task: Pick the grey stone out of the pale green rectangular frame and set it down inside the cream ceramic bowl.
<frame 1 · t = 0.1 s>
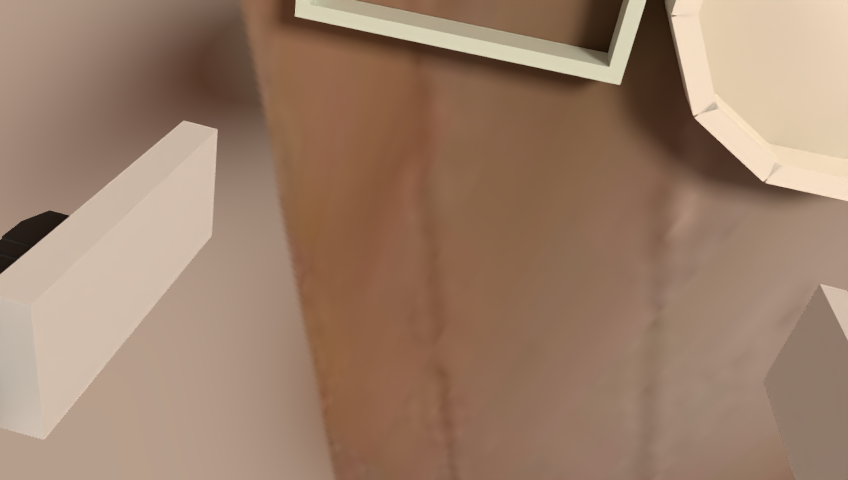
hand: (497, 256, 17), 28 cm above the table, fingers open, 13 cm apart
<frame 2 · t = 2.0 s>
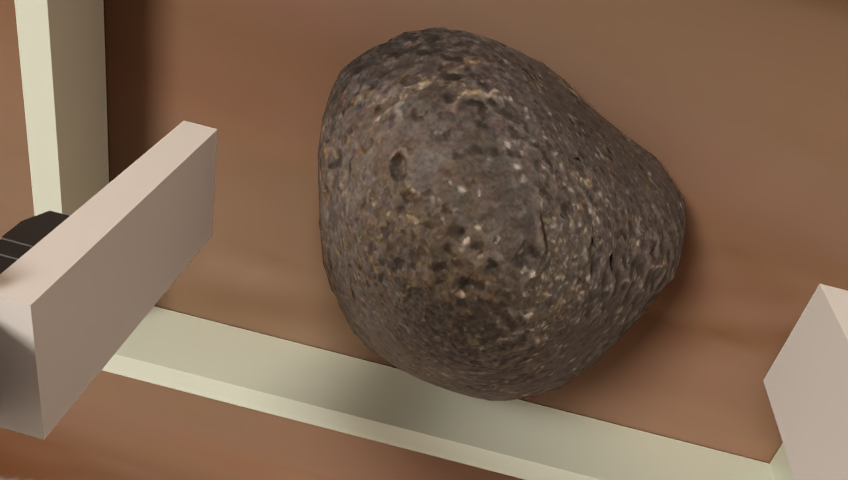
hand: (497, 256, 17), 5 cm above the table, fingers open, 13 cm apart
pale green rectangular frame: (496, 161, 21), on the table
stone: (477, 182, 21), on the table
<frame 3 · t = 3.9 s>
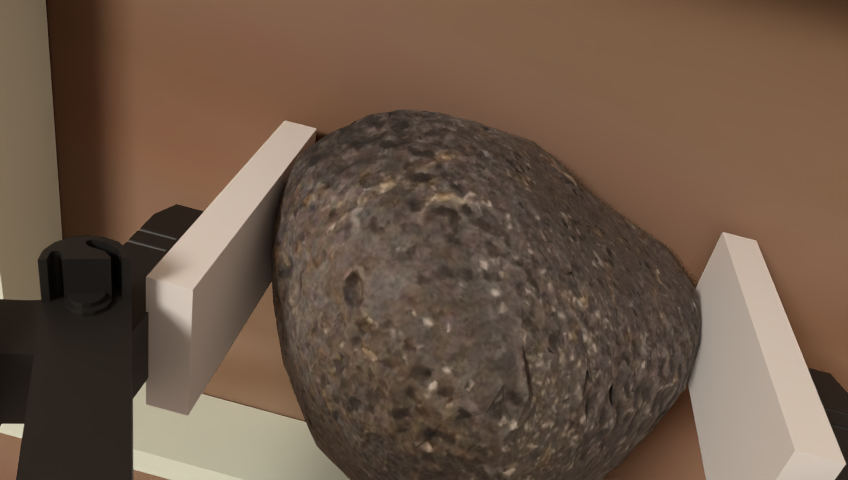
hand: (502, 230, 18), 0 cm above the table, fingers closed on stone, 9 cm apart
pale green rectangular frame: (498, 223, 18), on the table
stone: (462, 265, 19), on the table, touching gripper
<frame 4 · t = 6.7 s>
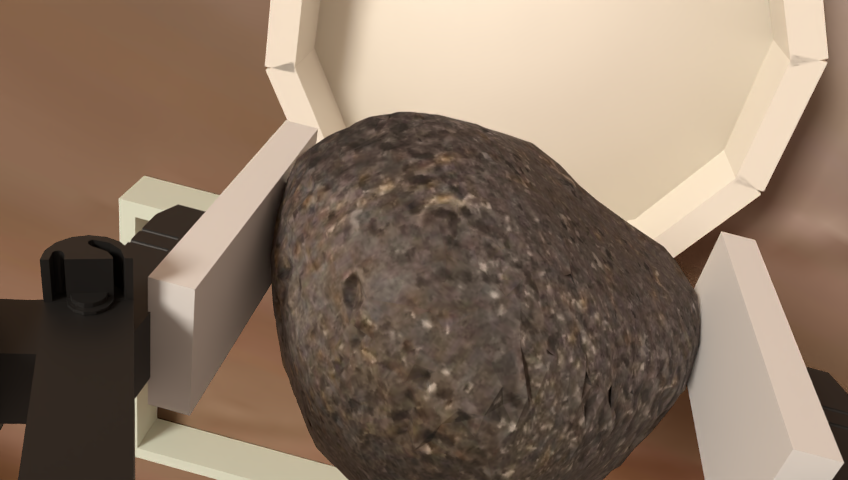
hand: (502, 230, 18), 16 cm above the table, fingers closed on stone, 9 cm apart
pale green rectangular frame: (348, 367, 42), on the table
bowl: (532, 38, 31), on the table
stone: (462, 267, 19), point 16 cm above the table, touching gripper
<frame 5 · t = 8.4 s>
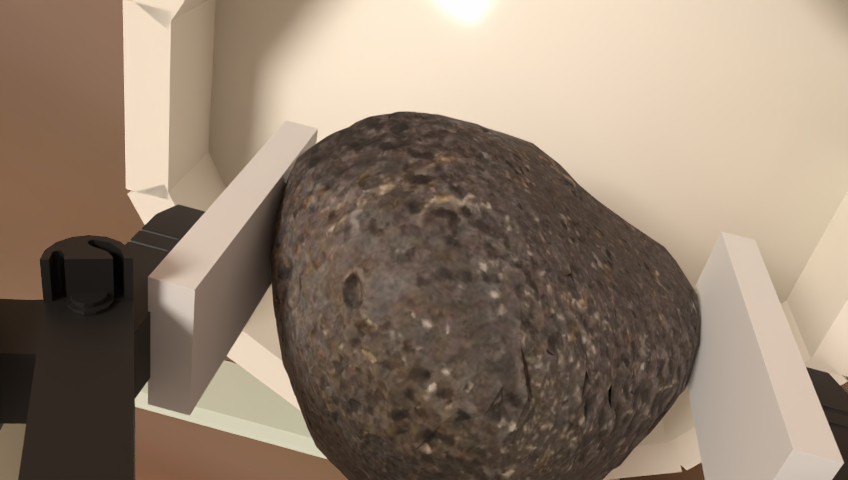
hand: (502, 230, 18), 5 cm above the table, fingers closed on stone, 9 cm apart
bowl: (514, 142, 22), on the table
stone: (462, 266, 19), point 5 cm above the table, touching gripper
when the fingers open (4 cm above the table, at t = 9.6 s): stone drops 3 cm, resting on bowl.
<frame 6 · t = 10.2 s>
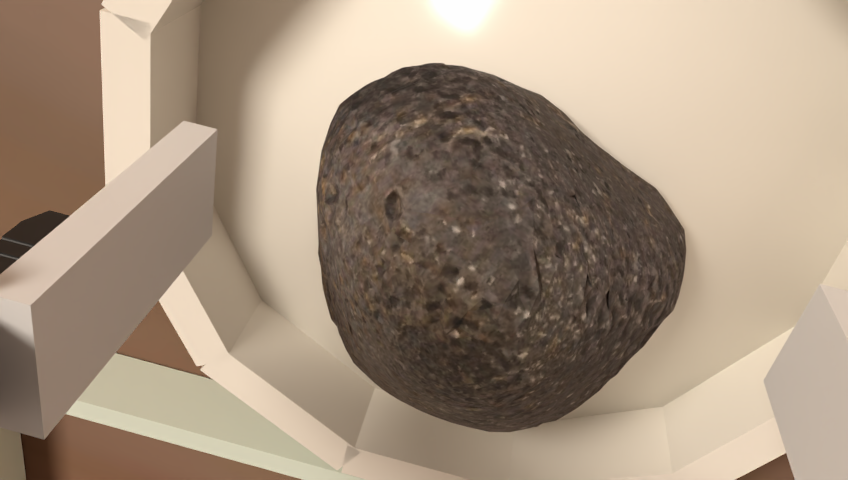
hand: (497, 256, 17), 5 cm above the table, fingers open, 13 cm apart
bowl: (514, 158, 21), on the table
stone: (478, 211, 21), point 1 cm above the table, touching bowl
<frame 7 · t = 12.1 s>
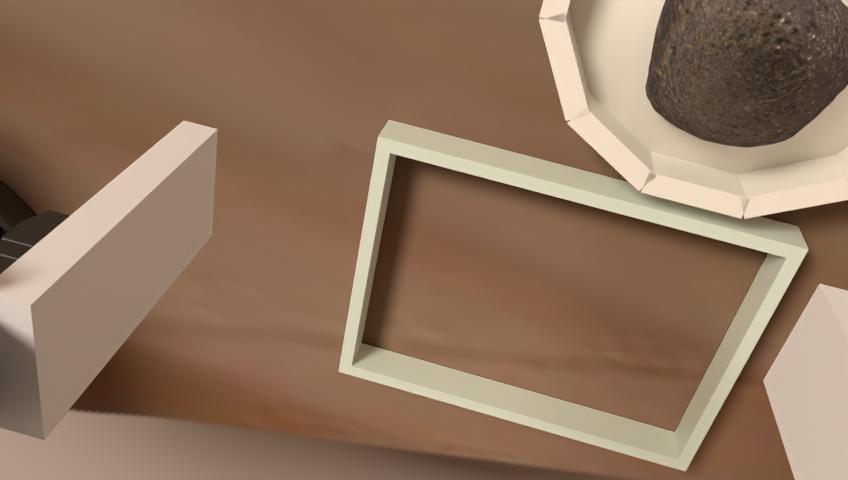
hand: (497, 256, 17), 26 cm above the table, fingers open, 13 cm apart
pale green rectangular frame: (547, 294, 48), on the table
stone: (734, 30, 37), point 1 cm above the table, touching bowl
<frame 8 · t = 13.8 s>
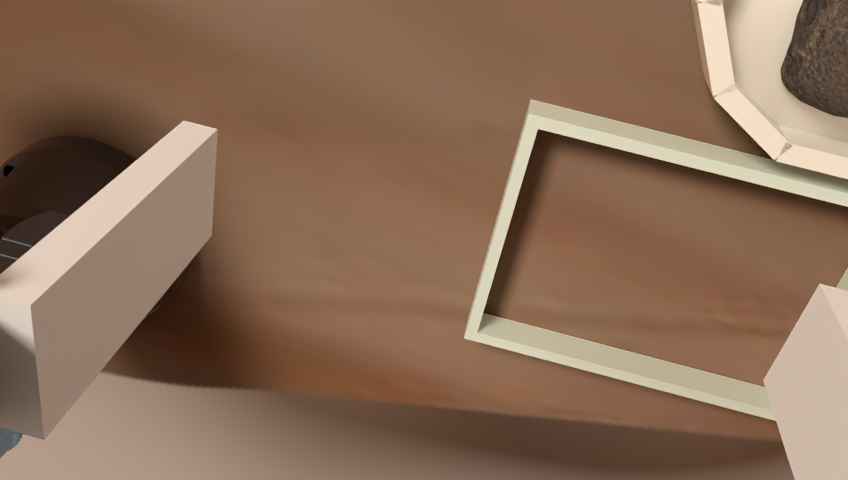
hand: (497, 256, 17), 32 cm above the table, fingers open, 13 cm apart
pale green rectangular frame: (665, 261, 52), on the table
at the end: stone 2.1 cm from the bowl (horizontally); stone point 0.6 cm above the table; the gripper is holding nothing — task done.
